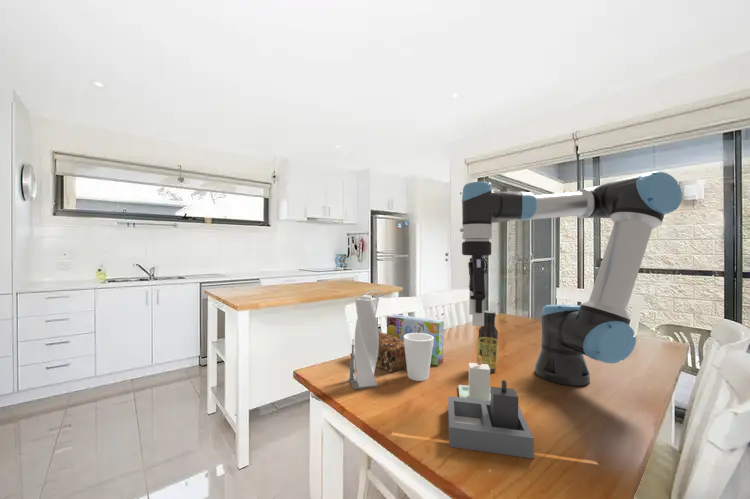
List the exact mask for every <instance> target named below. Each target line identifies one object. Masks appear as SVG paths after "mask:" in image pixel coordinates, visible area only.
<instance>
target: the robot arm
mask: <svg viewBox="0 0 750 499" xmlns="http://www.w3.org/2000/svg"><path fill="white" fill-rule="evenodd" d="M492 185H493V184H492V183H491V182H487V181H472V182H469V183H466V184H464V186H463V188H462V194H461V195H462V196H461V205H462V207H461V209H462V210H461V211H462V212H461V214H462V227H461V228H459V232H461V235H462V237H461V238H462V239H463V240H464V241H462V243H461V254H462V255H463V256H470V259H469V262H468V264H467V265H468V275H469V285H468V290H469V298H468V299H469V302H468V303H469V306H468V308H469V310H468V311H469V312H468V314H469V316H471V315H472V316H471V317H472V326H473V327H474V326H475V327H481V326H484V311H485V298H486V291H485V290H486V289H485V286H486V285H485V268H486V264H485V259H483V258H482V257H483V256H484V257H485V256H491V255H492V242H491V241H490V240H492V238H493V237H492V235H493V234H492V233H493V226H492V224H497V223H505V222H519V221H528V220H529V221H530V220H531V221H532V220H541V219H542V220H543V219H553V218H565V217H577V218H579V219H590V218H591V219H611V221H612V222H613V225H612V230H611V233H610V236H609V238H608V241H607V245H606V246H605V251H604V254H603V258H602V260H601V262H600V265H599V269H598V271H597V272H598V273H597V275H596V278H595V280H594V281H595V282H594V284H593V287H592V291H591V293H590V296H589V300H587V301H585V302H583V303H581V304H580V305H577V304H546V305H544V306H543V307H542V310H541V315H540V318H541V349H540V352H539V355H538V357H537V360H536V362H535V365H534V366H535V368H534V370H535V372H534V373H535V374H536V375H537V376H539V377H540V378H542V379H544V380H546V381H549V382H552V383H555V384H560V385H566V386H573V387H574V386H576V387H577V386H579V387H580V386H586V385H589V384H590V381H591V380H590V379H591V375H590V371H589V368H588V366H587V362H586V360H585V356H587V357H588V358H589V359H591V360H592V359H593V360H594V361H599V362H601V363H604V364H618V363H620V362H621V361H625V360H626V359H627V358H629V356H630V355H631V354H632V353H633V351H634V349H635V348H636V344H637V343H636V342H637V338H636V336H635V331H634V329H633V328H632V327H631V326H630V323H631V321H632V320H631V317H630V315H629V314H628V312H627V309H628V306H629V303H630V299H631V296H632V293H633V290H634V287H635V285H636V280H637V278H638V275H639V271H640V267H641V265H642V262H643V258H644V256H645V253H646V249H647V246H648V243H649V241H650V237H651V234H652V231H653V230H654V229H655V228H658V227H659V226H662V223H663V220H664V216H665V215H667V214H670V213H672V212H673V213H674V211H676V210H677V209H678V208H679V207H681V206H680V205H681V203H682V200H683V198H682V197H683V192H682V189H681V185H680V184H679V183H678V181H677V179H675V177H673V176H672V175H671V174H669V173H667V172H665V171H659V170H658V171H652V172H643V173H641V174H639V175H638V174H637V175H634V176H630V177H625V178H622V179H617V180H614V181H610V182H609V181H608V182H606V183H603V184H599V185H596V186H591V187H586V188H579V189H577V190H576V191H575V192H564V193H563V192H561V193H552V194H551V193H549V194H537V195H535V194H534V193H532V192H530V191H529V192H527V191H522V190H521V191H508V190H507V191H505V190H503V191H499V190H493V186H492ZM584 355H585V356H584Z"/></svg>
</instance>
